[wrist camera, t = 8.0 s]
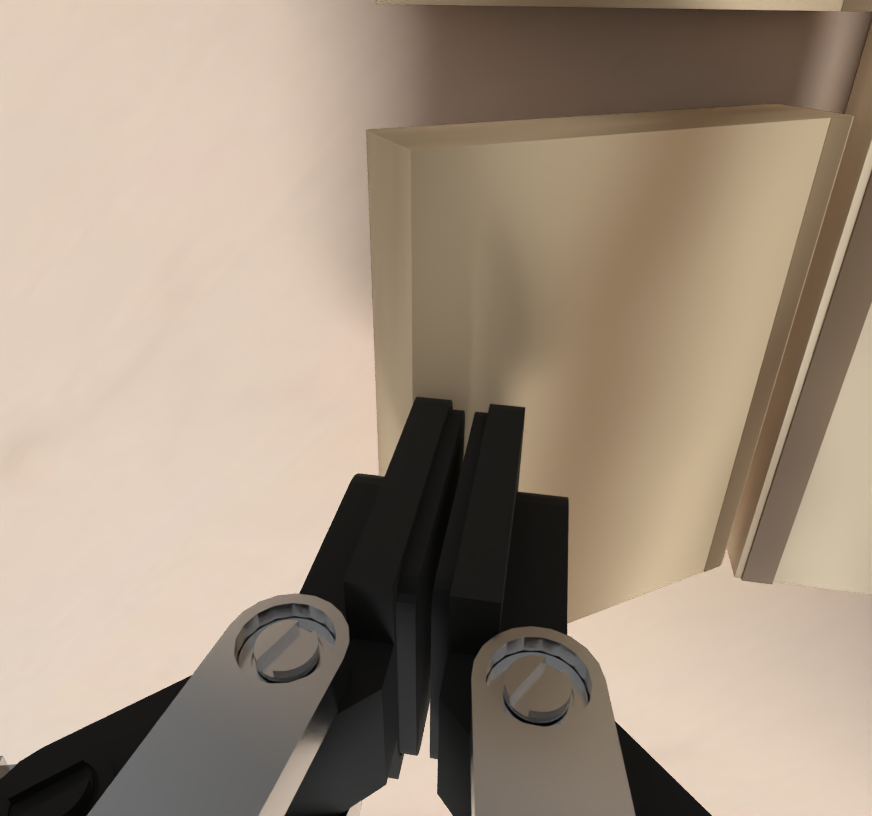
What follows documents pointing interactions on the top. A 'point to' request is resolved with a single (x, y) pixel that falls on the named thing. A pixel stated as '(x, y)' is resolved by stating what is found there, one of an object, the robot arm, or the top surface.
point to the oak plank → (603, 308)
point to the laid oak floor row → (821, 401)
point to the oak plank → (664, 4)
